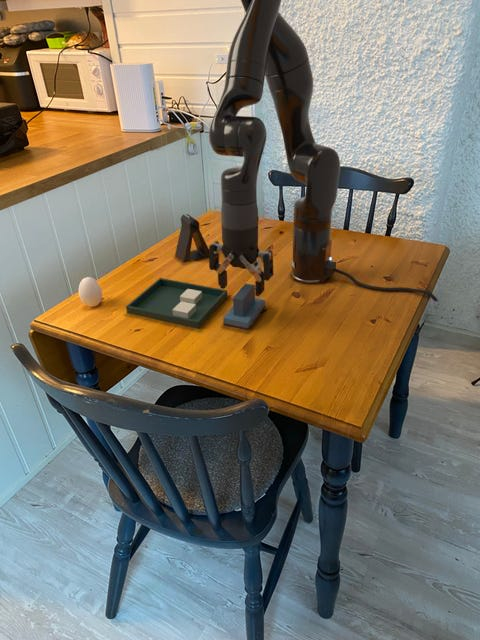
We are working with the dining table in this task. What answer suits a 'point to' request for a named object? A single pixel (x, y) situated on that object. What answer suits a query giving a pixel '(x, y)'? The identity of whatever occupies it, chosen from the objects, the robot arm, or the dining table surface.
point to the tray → (176, 302)
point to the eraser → (244, 308)
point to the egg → (90, 292)
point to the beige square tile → (191, 296)
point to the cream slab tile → (184, 310)
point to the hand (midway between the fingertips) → (241, 290)
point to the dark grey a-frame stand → (185, 240)
